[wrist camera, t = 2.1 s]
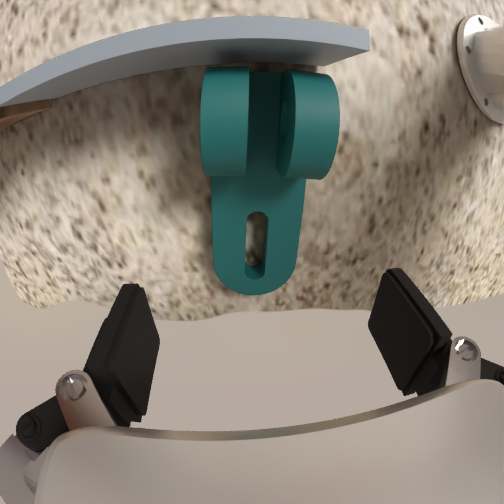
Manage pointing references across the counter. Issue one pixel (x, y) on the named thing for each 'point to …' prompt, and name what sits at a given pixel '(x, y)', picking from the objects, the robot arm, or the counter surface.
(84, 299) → the counter surface
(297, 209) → the bracket
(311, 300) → the counter surface
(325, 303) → the counter surface
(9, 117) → the brown wooden block
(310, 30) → the door
